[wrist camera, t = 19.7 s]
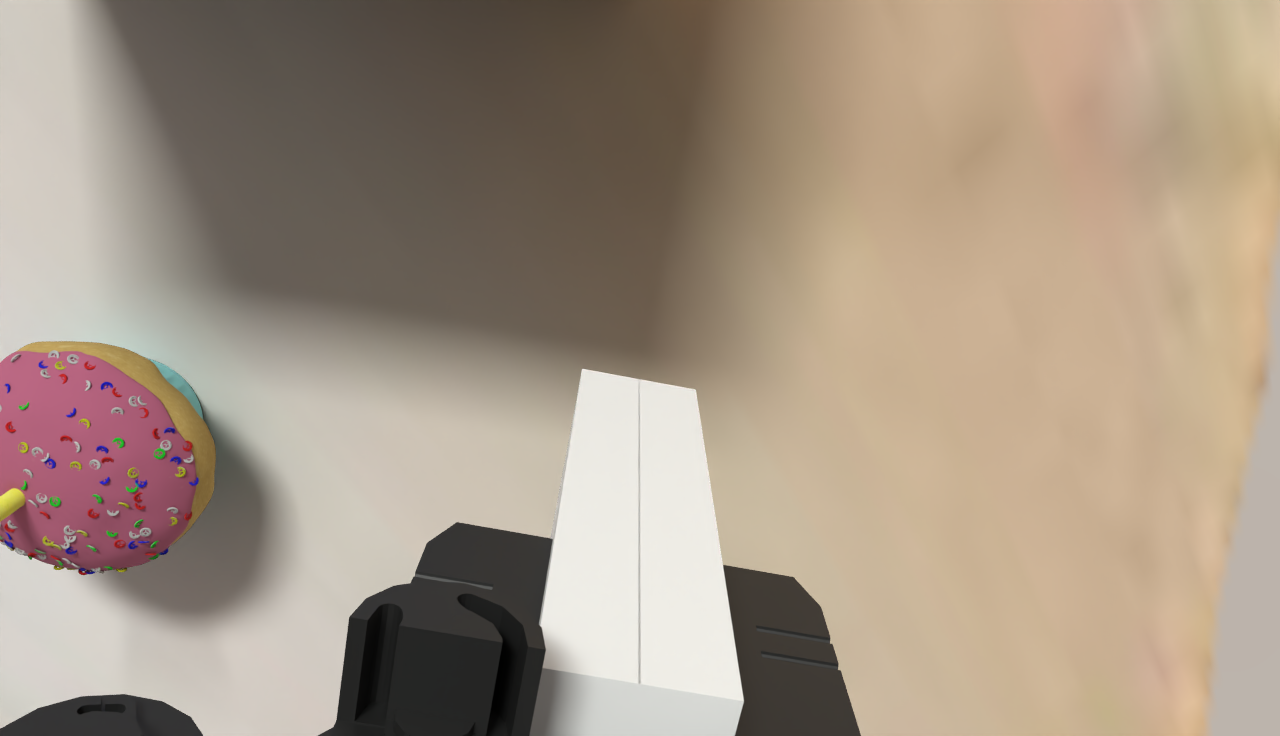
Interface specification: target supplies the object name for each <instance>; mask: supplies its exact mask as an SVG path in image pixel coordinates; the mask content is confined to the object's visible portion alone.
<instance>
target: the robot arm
mask: <svg viewBox="0 0 1280 736" xmlns="http://www.w3.org/2000/svg"><path fill="white" fill-rule="evenodd" d="M0 736H203V735H202V733H201V732H200V730H199V729H198V727H197V726H196V724H195V723H194V721H193V720H192V718H191V717H190V716H188V715H186V714H184V713H182V712H181V711H179V710H177V709H175V708H173V707H172V706H170V705H168V704H166V703H164V702H162V701H157V700H152V699H147V698H141V697H136V696H131V695H125V694H121V695H102V696H83V697H78V698H74V699H71V700H67V701H63V702H60V703H56V704H52V705H49V706H45V707H41V708H38V709H36V710H34V711H32V712H30V713H29V714H27V715H25V716H23V717H21V718H19V719H18V720H16V721H14V722H12V723H10V724H8V725H6V726H5V727H3V728H1V729H0ZM318 736H861V735H860V731H859V728H858V725H857V722H856V719H855V715H854V712H853V709H852V706H851V702H850V699H849V696H848V693H847V690H846V686H845V683H844V680H843V677H842V673H841V671H840V670H838V661H837V657H836V654H835V651H834V648H833V644H830V635H829V632H828V628H827V625H826V622H825V619H824V615H823V612H822V609H821V607H820V605H819V604H818V603H817V602H816V601H815V600H814V599H813V598H812V597H811V596H810V595H809V594H808V593H807V591H806V590H805V589H804V588H803V587H802V586H801V585H800V584H799V583H798V582H797V581H796V580H795V578H794V577H789V576H784V575H778V574H772V573H766V572H761V571H755V570H749V569H743V568H738V567H732V566H726V565H723V563H722V556H721V550H720V543H719V537H718V530H717V524H716V517H715V511H714V504H713V498H712V491H711V485H710V478H709V472H708V466H707V459H706V453H705V446H704V440H703V433H702V427H701V420H700V414H699V407H698V401H697V394H696V390H695V389H690V388H684V387H679V386H674V385H668V384H663V383H657V382H652V381H646V380H641V379H636V378H630V377H625V376H619V375H614V374H608V373H603V372H598V371H592V370H587V369H582V372H581V378H580V383H579V388H578V394H577V399H576V404H575V410H574V415H573V420H572V425H571V431H570V436H569V441H568V447H567V452H566V457H565V463H564V468H563V473H562V479H561V484H560V489H559V495H558V500H557V505H556V511H555V516H554V521H553V527H552V532H551V537H550V538H544V537H539V536H533V535H527V534H521V533H516V532H510V531H504V530H498V529H493V528H487V527H481V526H475V525H470V524H464V523H458V522H457V523H455V524H454V525H452V526H451V527H450V528H448V529H447V530H445V531H444V532H442V533H441V534H439V535H438V536H436V537H435V538H433V539H432V540H431V541H429V542H428V543H427V545H426V547H425V549H424V552H423V554H422V557H421V559H420V562H419V564H418V567H417V569H416V572H415V577H413V579H412V582H411V583H410V584H403V585H397V586H393V587H390V588H388V589H386V590H384V591H382V592H379V593H377V594H375V595H373V596H370V597H368V598H366V599H365V600H364V601H363V603H362V604H361V605H360V606H359V607H358V608H357V609H356V610H355V611H354V613H353V614H352V615H351V616H350V617H349V624H348V632H347V641H346V649H345V657H344V665H343V673H342V681H341V689H340V697H339V705H338V713H337V720H336V723H335V725H334V727H333V728H331V729H329V730H328V731H326V732H324V733H322V734H320V735H318Z"/></svg>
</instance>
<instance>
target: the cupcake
mask: <svg viewBox="0 0 1280 736" xmlns="http://www.w3.org/2000/svg"><path fill="white" fill-rule="evenodd" d="M215 461H216V449H215V444H214V441H213V438H212V436H211V433H210V431H209V429H208V427H207V425H206V423H205V422H204V420H203V414H202V410H201V406H200V403H199V401H198V399H197V397H196V395H195V393H194V391H193V390H192V388H191V387H190V386H189V384H188V383H187V382H186V381H185V380H184V379H183V378H182V377H181V376H180V375H179V374H178V373H176V372H175V371H173V370H172V369H170V368H169V367H167V366H165V365H163V364H161V363H159V362H156V361H154V360H150V359H147V358H145V357H142V356H140V355H138V354H136V353H134V352H132V351H130V350H127V349H124V348H121V347H116V346H112V345H107V344H102V343H93V342H72V341H62V342H35V343H31V344H28V345H26V346H24V347H22V348H21V349H19V350H18V351H16V352H15V353H12V354H11V355H9V356H8V357H6V358H5V359H4V360H3V361H2V362H1V363H0V543H1V544H3V545H6V546H7V547H8V549H10V550H12V551H13V550H14V549H15V551H16V552H17V553H18V554H20V555H25V556H27V555H28V557H29V559H30V560H31V559H32V557H33V558H35V559H37V560H39V561H42V562H45V563H48V564H52V565H55V566H54V569H55V570H61V569H63V568H64V567H66V568H67V569H68V570H75V569H78V572H79V574H81V575H86V574H93V573H95V572H100V573H104V571H106V570H114V569H116V570H117V571H118V572H125V571H126V570H127V567H132V566H138V565H141V564H144V563H146V562H149V561H150V560H153V559H156V558H157V557H158V556H159V555H164V554H166V553H167V552H168V547H169V546H170V545H172V544H173V543H175V542H176V541H177V540H178V539H180V538H181V537H182V536H183V535H184V534H185V533H186V532H187V531H188V530H189V529H190V528H191V526H192V525H193V524H194V522H195V521H196V520H197V518H198V517H199V516H200V515H201V513H202V512H203V510H204V509H205V507H206V506H207V504H208V503H209V501H210V499H211V497H212V494H213V491H214V472H215ZM165 550H166V551H165ZM163 552H164V553H163ZM57 567H59V568H57ZM122 568H124V569H122ZM119 569H122V570H119ZM85 570H86V571H85ZM90 570H91V572H90ZM82 571H85V572H84V573H83V572H82Z"/></svg>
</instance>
